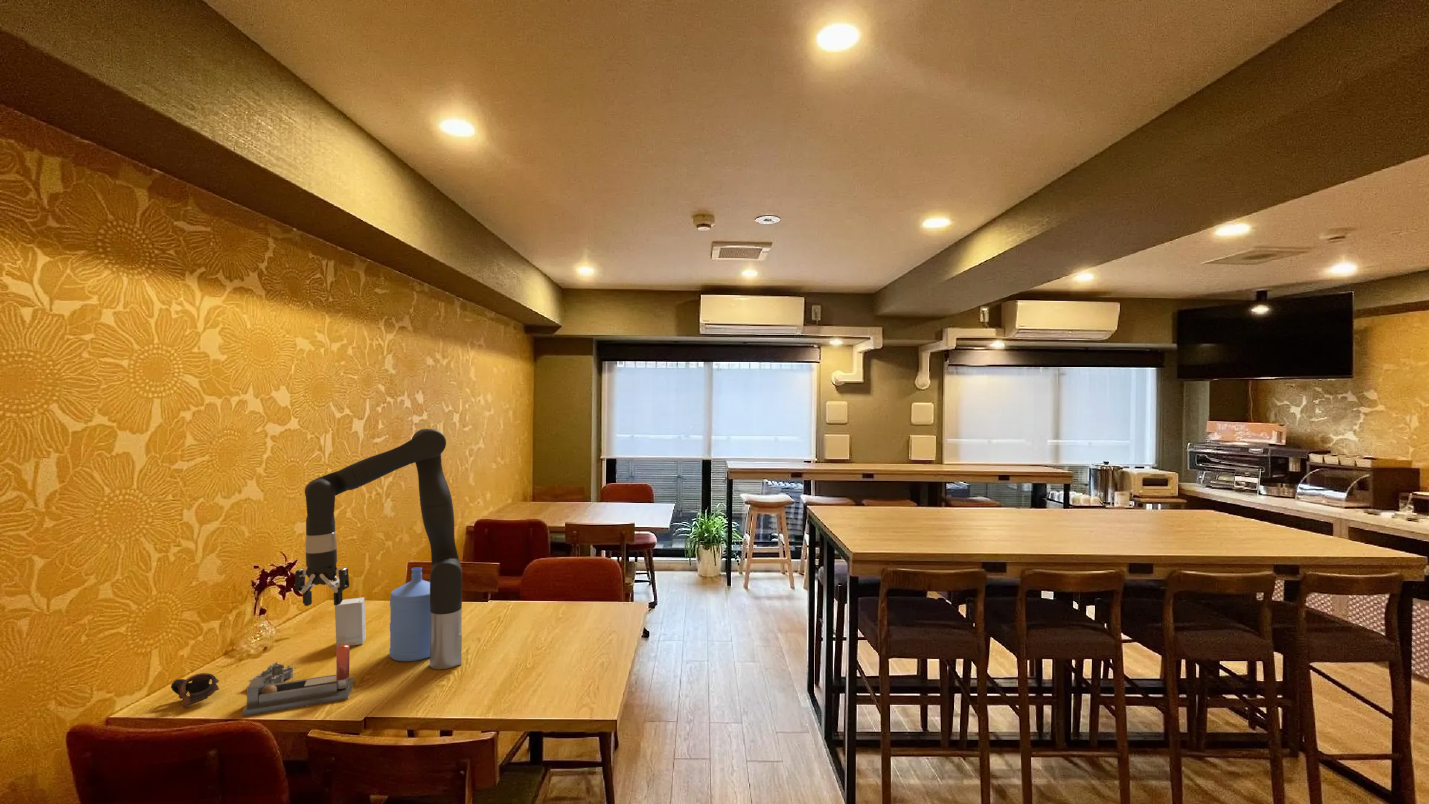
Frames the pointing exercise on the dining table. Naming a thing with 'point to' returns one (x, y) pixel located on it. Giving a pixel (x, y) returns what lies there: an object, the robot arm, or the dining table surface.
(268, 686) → the walnut
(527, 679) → the dining table surface
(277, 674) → the grey jagged model
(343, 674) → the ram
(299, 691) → the grey ball track
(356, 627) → the skincare box
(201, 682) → the dark brown hollow piece
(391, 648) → the water jug
